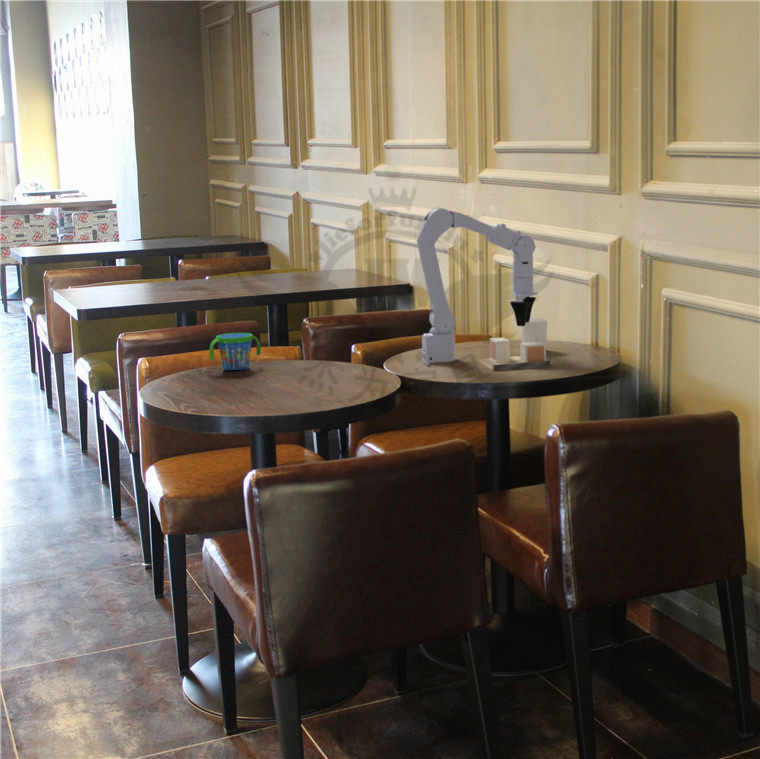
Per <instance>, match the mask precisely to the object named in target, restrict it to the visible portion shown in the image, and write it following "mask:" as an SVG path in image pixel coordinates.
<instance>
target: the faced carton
mask: <svg viewBox="0 0 760 759" xmlns="http://www.w3.org/2000/svg"><path fill="white" fill-rule="evenodd" d="M519 344H520V345H519V346H520V347H519V348H520V356H521V363H524V362H537V361H547V342H546V343H543V342H527V343H522V342H520V343H519Z"/></svg>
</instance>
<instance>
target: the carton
mask: <svg viewBox="0 0 760 759" xmlns="http://www.w3.org/2000/svg"><path fill="white" fill-rule="evenodd" d="M510 347H511V342H510V339H507V338H505V337H493V338H491V337H490V338H489V351H490V352H489V353H490V354H489V355H490V356H489V358H490V359H491V360H493V361H495V362H496V363H497V362H510V357H511V353H510V352H511V348H510Z"/></svg>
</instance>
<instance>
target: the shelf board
mask: <svg viewBox="0 0 760 759" xmlns="http://www.w3.org/2000/svg"><path fill="white" fill-rule="evenodd" d="M475 360H476V361H477V362H479V363H481V364H482V365H484V366H485V367H487V368H489V369H491V370H492V371H494V372H495V371H508V370H509V371H511V370H523V369H534V368H535V369H536V368H548V367H551V360H546V361H537V362H524V363H521V355H518V356H517V355H516V356H510V362H497V363H496V362H495V361H493V360H491V359H490V357H488V358H479V359H478V358H477V359H475Z"/></svg>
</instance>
